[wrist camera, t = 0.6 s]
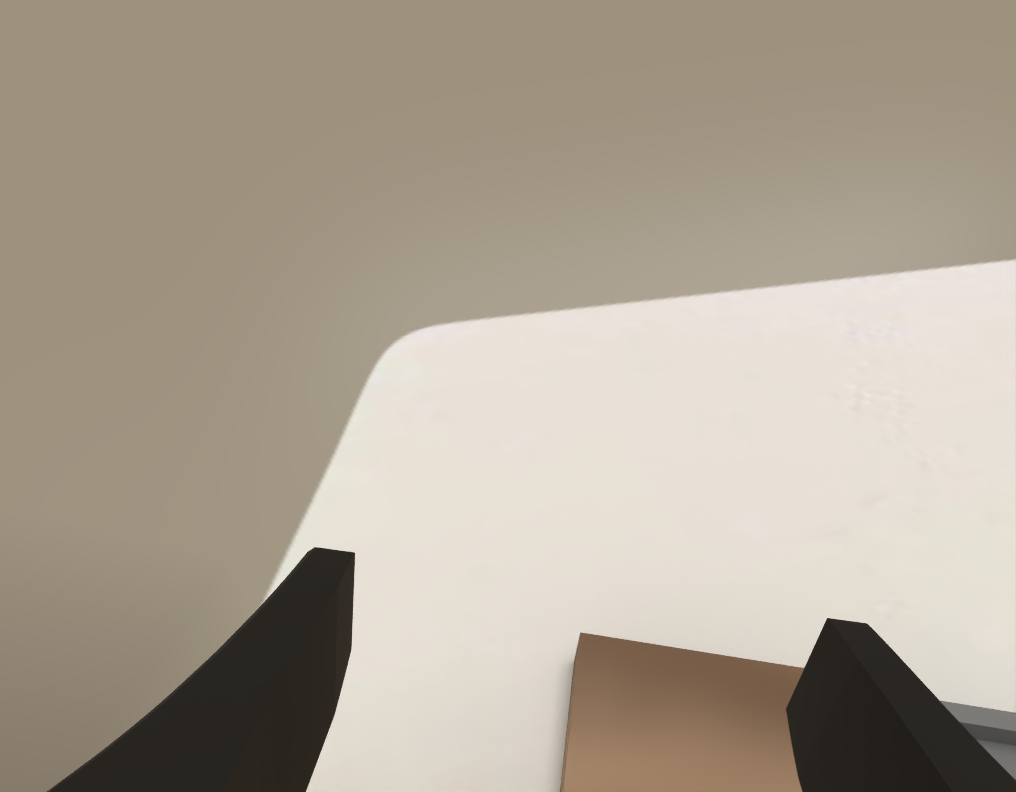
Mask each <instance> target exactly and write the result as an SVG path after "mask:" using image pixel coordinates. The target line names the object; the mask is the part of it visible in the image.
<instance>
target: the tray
mask: <svg viewBox="0 0 1016 792" xmlns="http://www.w3.org/2000/svg"><path fill="white" fill-rule="evenodd" d="M940 702H941V703H942V704H943V705H944V706H945V707H946V708H947V709H948V710H949V711H950V712H951V714H952V715H953V716H954V717H955V718H956V719H957V720H958V721H959V722H960V723H961V724H962V725H963V726H964V727H965V728H966V730H967V731H968V732H969V733H970V734H971V735H972V736H973V737H974V738H975V739H976V740H977V741H978V742H979V743H980V744H981V745H982V746H983V747H984V748H985V749H986V750H987V751H988V752H989V754H990V755H991V756H992V757H993V758H994V759H995V760H996V761H997V762H998V763H999V764H1000V765H1001V766H1002V767H1003V768H1004V769H1005V770H1006V771H1007V772H1008V773H1009V774H1010V775H1011V776H1012V777H1013V778H1014V779H1015V780H1016V713H1013V712H1007V711H1000V710H994V709H988V708H982V707H976V706H969V705H963V704H957V703H951V702H945V701H940Z"/></svg>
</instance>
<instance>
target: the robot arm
mask: <svg viewBox="0 0 1016 792" xmlns="http://www.w3.org/2000/svg"><path fill="white" fill-rule="evenodd" d="M354 566H355V553H353V552H346V551H339V550H332V549H324V548H317V547H315V548H313V549H311V550H310V551H308V552H307V553H306V555H305V556H304V557H303V558H302V559H301V561H300V562H299V563H298V564H297V566H296V567H295V568H294V569H293V570H292V571H291V573H290V574H289V575H288V576H287V577H286V578H285V580H284V581H283V582H282V583H281V584H280V585H279V586H278V588H277V589H276V590H275V591H274V592H273V593H272V594H271V595H270V596H269V597H268V599H267V600H266V601H265V602H264V603H263V604H262V605H261V606H260V607H259V608H258V609H257V611H256V612H255V613H254V614H253V615H252V616H251V617H250V618H249V619H248V620H247V621H246V622H245V623H244V624H243V625H242V626H241V627H240V628H239V629H238V630H237V631H236V632H235V633H234V634H233V635H232V636H231V637H230V638H229V639H228V640H227V641H226V642H225V643H224V644H223V646H221V647H220V648H219V649H218V650H217V652H215V653H214V654H213V655H212V656H211V657H210V658H209V659H208V660H207V661H206V662H205V663H204V664H203V665H201V666H200V667H199V668H198V669H197V670H196V671H195V672H194V673H193V674H192V675H191V676H190V677H188V678H187V679H186V680H185V681H184V682H183V683H182V684H181V685H180V686H179V687H178V688H177V689H175V690H174V691H173V692H172V693H171V694H170V695H169V696H168V697H167V698H166V699H164V700H163V701H162V702H161V703H160V704H159V705H157V706H156V707H155V708H154V709H153V710H152V711H150V712H149V713H148V714H147V715H146V716H144V717H143V718H142V719H141V720H140V721H139V722H137V723H136V724H135V725H134V726H132V727H131V728H130V729H129V730H128V731H126V732H125V733H124V734H123V735H121V736H120V737H119V738H118V739H116V740H115V741H114V742H113V743H111V744H110V745H109V746H108V747H106V748H105V749H104V750H102V751H101V752H100V753H98V754H97V755H96V756H95V757H93V758H92V759H91V760H89V761H88V762H86V763H85V764H84V765H82V766H81V767H80V768H78V769H77V770H76V771H74V772H73V773H72V774H70V775H69V776H67V777H66V778H65V779H63V780H62V781H61V782H60V783H58V784H57V785H55V786H54V787H53V788H51V789H50V790H49V791H47V792H306V790H307V787H308V784H309V782H310V779H311V776H312V774H313V771H314V768H315V766H316V763H317V760H318V758H319V755H320V752H321V750H322V747H323V744H324V742H325V739H326V736H327V734H328V731H329V728H330V725H331V723H332V720H333V717H334V715H335V711H336V707H337V703H338V700H339V696H340V692H341V688H342V684H343V681H344V677H345V673H346V669H347V665H348V661H349V657H350V653H351V646H352V619H353V593H354ZM786 713H787V719H788V725H789V731H790V737H791V743H792V749H793V754H794V759H795V764H796V769H797V774H798V779H799V782H800V785H801V789H802V792H1016V780H1015V779H1014V778H1013V777H1012V776H1011V775H1010V774H1009V773H1008V772H1007V771H1006V770H1005V769H1004V768H1003V767H1002V766H1001V765H1000V764H999V763H998V762H997V761H996V760H995V759H994V758H993V757H992V756H991V755H990V754H989V752H988V751H987V750H986V749H985V748H984V747H983V746H982V745H981V744H980V743H979V742H978V741H977V740H976V739H975V738H974V737H973V736H972V735H971V734H970V733H969V732H968V731H967V730H966V728H965V727H964V726H963V725H962V724H961V723H960V722H959V721H958V720H957V719H956V718H955V717H954V716H953V715H952V714H951V712H950V711H949V710H948V709H947V708H946V707H945V706H944V705H943V704H942V703H941V702H940V701H939V700H938V699H937V697H936V696H935V695H934V694H933V693H932V692H931V691H930V690H929V689H928V688H927V687H926V686H925V684H924V683H923V682H922V681H921V680H920V679H919V678H918V677H917V676H916V675H915V674H914V672H913V671H912V670H911V669H910V668H909V667H908V666H907V665H906V664H905V663H904V662H903V661H902V659H901V658H900V657H899V656H898V655H897V654H896V653H895V652H894V651H893V650H892V649H891V648H890V647H889V646H888V644H887V643H886V642H885V641H884V640H883V639H882V638H881V637H880V636H879V635H878V634H877V633H876V632H875V631H874V630H873V629H872V628H871V627H870V626H869V625H868V624H866V623H859V622H852V621H845V620H837V619H830V618H827V620H826V622H825V624H824V626H823V629H822V631H821V633H820V635H819V637H818V640H817V642H816V644H815V646H814V648H813V651H812V653H811V655H810V657H809V659H808V661H807V664H806V666H805V668H804V670H803V672H802V675H801V677H800V679H799V681H798V683H797V686H796V688H795V690H794V692H793V694H792V697H791V699H790V701H789V703H788V705H787V708H786Z"/></svg>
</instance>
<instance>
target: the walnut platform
mask: <svg viewBox="0 0 1016 792" xmlns="http://www.w3.org/2000/svg"><path fill="white" fill-rule="evenodd" d="M803 670H804V668H799V667H793V666H787V665H781V664H774V663H768V662H762V661H755V660H749V659H743V658H737V657H730V656H724V655H718V654H712V653H705V652H699V651H693V650H687V649H680V648H674V647H668V646H661V645H655V644H649V643H643V642H636V641H630V640H624V639H618V638H611V637H605V636H599V635H593V634H586V633H580V637H579V641H578V646H577V651H576V655H575V660H574V668H573V678H572V687H571V696H570V705H569V714H568V723H567V733H566V742H565V751H564V760H563V769H562V779H561V788H560V792H802V789H801V785H800V782H799V779H798V774H797V769H796V764H795V759H794V754H793V749H792V743H791V737H790V731H789V725H788V719H787V713H786V708H787V705H788V703H789V701H790V699H791V697H792V694H793V692H794V690H795V688H796V686H797V683H798V681H799V679H800V677H801V675H802V672H803Z"/></svg>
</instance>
